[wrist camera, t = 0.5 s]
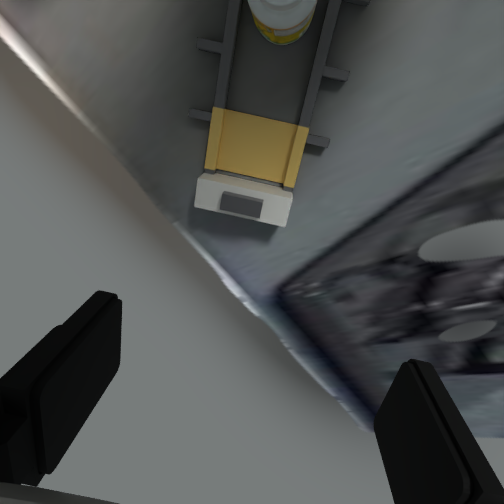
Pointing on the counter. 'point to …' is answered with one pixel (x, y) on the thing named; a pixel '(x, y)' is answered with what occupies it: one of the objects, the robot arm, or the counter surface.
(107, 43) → the counter surface
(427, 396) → the robot arm
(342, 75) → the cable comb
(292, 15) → the supplement bottle
